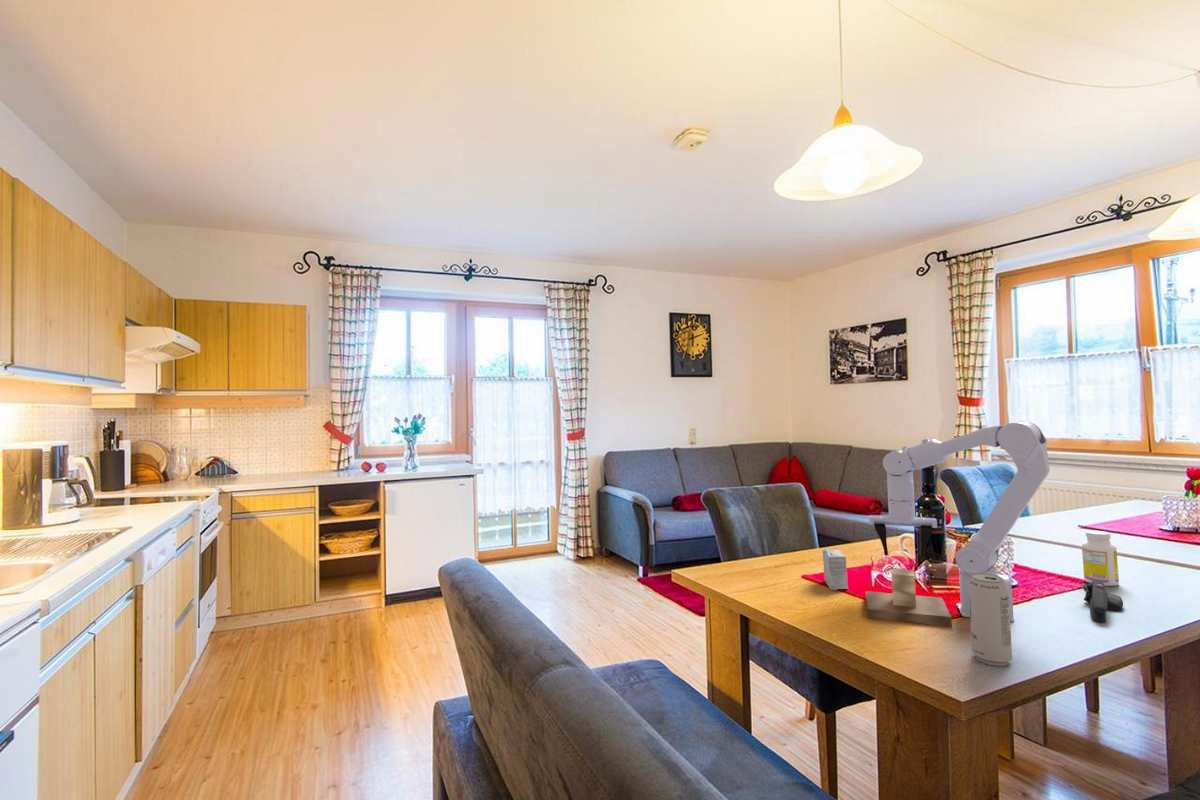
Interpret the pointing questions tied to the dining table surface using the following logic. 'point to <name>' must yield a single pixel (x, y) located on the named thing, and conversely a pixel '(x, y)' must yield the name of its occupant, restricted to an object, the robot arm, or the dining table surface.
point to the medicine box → (835, 569)
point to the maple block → (903, 588)
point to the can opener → (1100, 600)
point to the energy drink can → (990, 619)
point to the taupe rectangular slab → (908, 609)
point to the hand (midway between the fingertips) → (903, 555)
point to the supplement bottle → (1100, 558)
